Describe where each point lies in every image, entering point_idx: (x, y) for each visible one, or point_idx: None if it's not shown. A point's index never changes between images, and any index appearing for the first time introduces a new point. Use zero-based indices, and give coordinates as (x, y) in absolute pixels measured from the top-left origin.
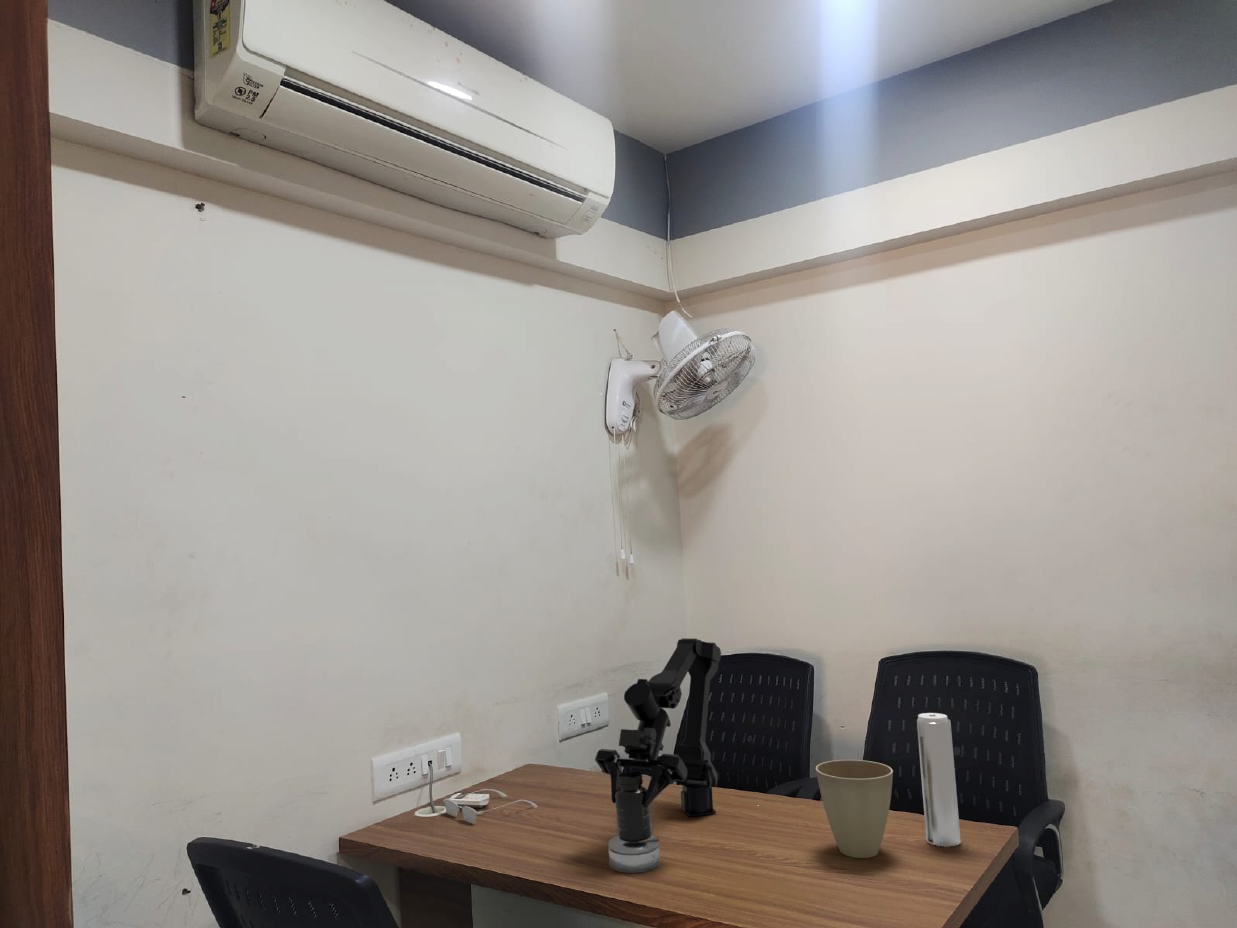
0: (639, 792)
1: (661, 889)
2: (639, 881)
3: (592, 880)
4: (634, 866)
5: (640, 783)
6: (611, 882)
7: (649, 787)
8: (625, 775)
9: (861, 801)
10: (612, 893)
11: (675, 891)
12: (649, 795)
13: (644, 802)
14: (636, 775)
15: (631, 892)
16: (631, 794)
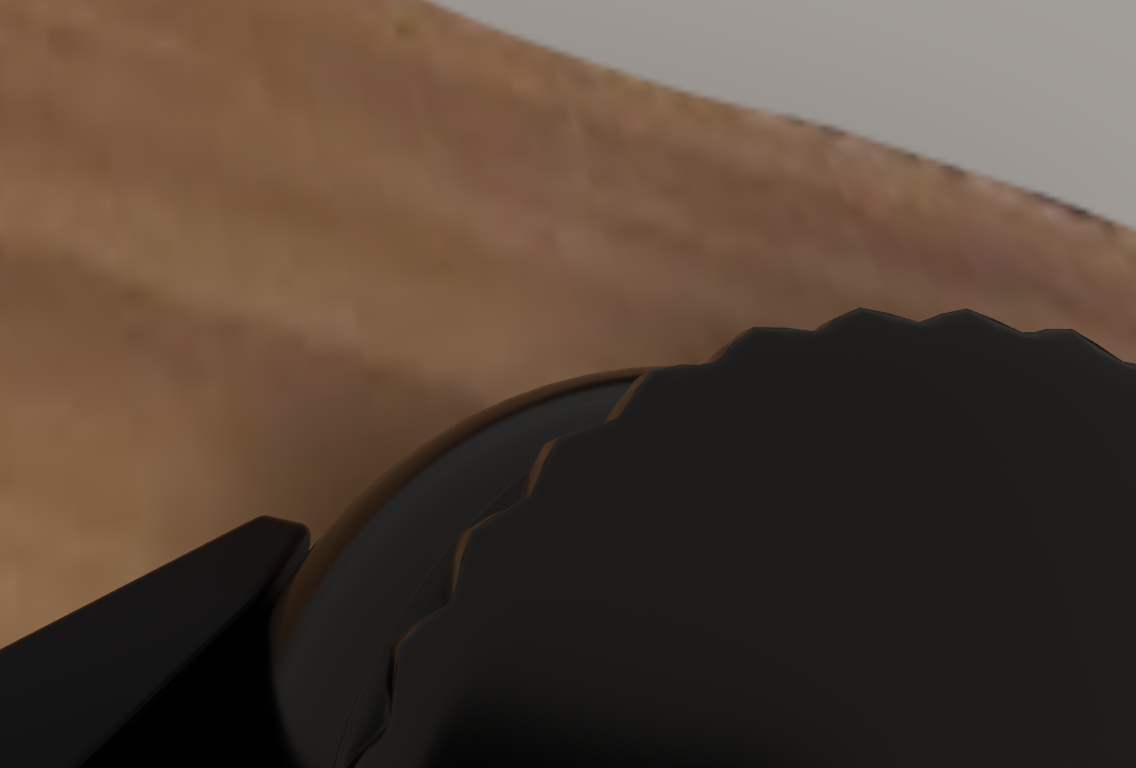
0: (401, 517)
1: (177, 187)
2: (397, 321)
3: (802, 301)
4: None
5: (372, 672)
6: (633, 279)
7: (39, 747)
8: None
9: None
10: (564, 90)
11: (50, 161)
12: (111, 601)
13: (288, 536)
14: (585, 733)
15: (420, 117)
16: (616, 398)
